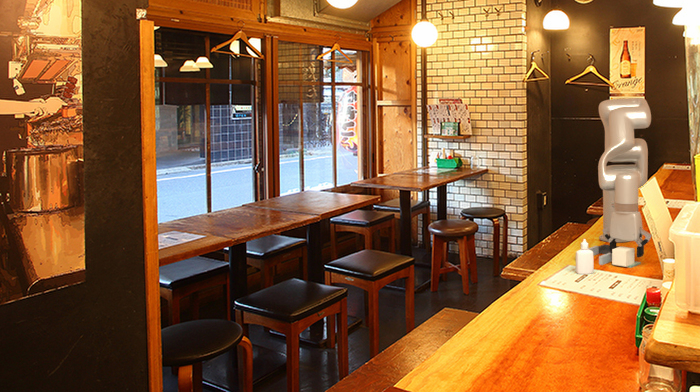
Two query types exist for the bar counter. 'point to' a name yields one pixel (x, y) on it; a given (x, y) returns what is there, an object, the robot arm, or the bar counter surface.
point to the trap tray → (605, 249)
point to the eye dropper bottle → (584, 259)
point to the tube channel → (602, 259)
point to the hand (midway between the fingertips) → (626, 254)
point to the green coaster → (632, 264)
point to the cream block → (623, 256)
